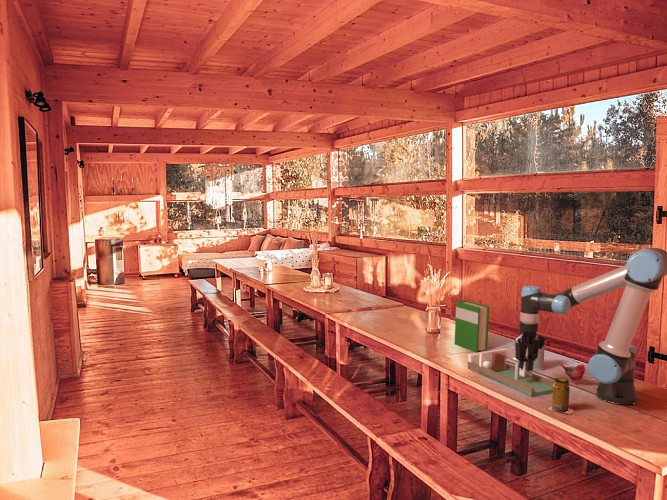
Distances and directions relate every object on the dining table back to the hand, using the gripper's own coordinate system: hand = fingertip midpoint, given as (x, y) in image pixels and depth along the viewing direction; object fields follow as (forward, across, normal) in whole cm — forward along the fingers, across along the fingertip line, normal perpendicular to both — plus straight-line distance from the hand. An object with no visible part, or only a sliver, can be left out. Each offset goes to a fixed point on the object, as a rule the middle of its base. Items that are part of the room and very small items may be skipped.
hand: (525, 375), depth 240 cm
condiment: (+5, +7, +26) cm, 28 cm away
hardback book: (+5, -18, -58) cm, 61 cm away
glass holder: (+5, -21, -19) cm, 29 cm away
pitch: (+5, 0, -9) cm, 10 cm away
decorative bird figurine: (+5, -23, +4) cm, 24 cm away
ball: (+3, 0, -24) cm, 24 cm away
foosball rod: (+3, 0, -8) cm, 8 cm away
